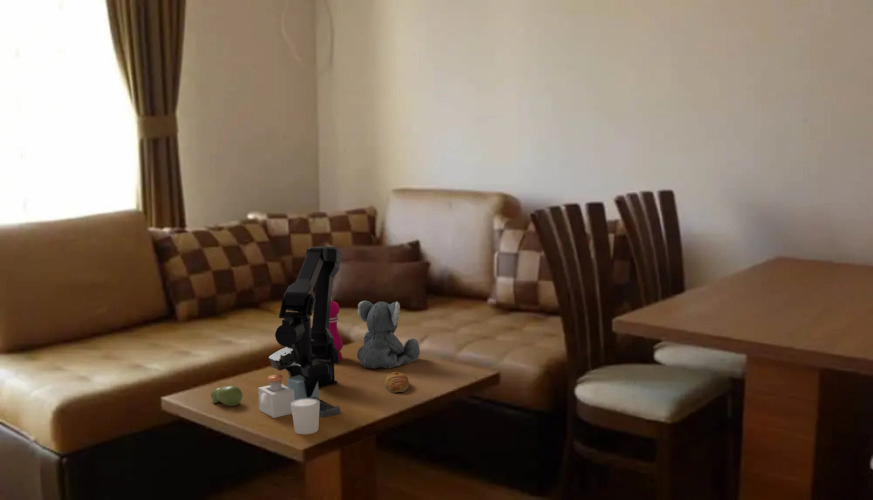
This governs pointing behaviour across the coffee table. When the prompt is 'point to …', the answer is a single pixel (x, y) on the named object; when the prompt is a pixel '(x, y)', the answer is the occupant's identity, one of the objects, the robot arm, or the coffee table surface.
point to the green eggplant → (227, 395)
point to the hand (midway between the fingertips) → (302, 394)
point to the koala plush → (384, 337)
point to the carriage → (300, 388)
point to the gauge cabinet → (275, 401)
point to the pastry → (396, 382)
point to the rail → (327, 409)
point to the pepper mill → (335, 327)
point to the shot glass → (305, 415)
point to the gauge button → (275, 382)
